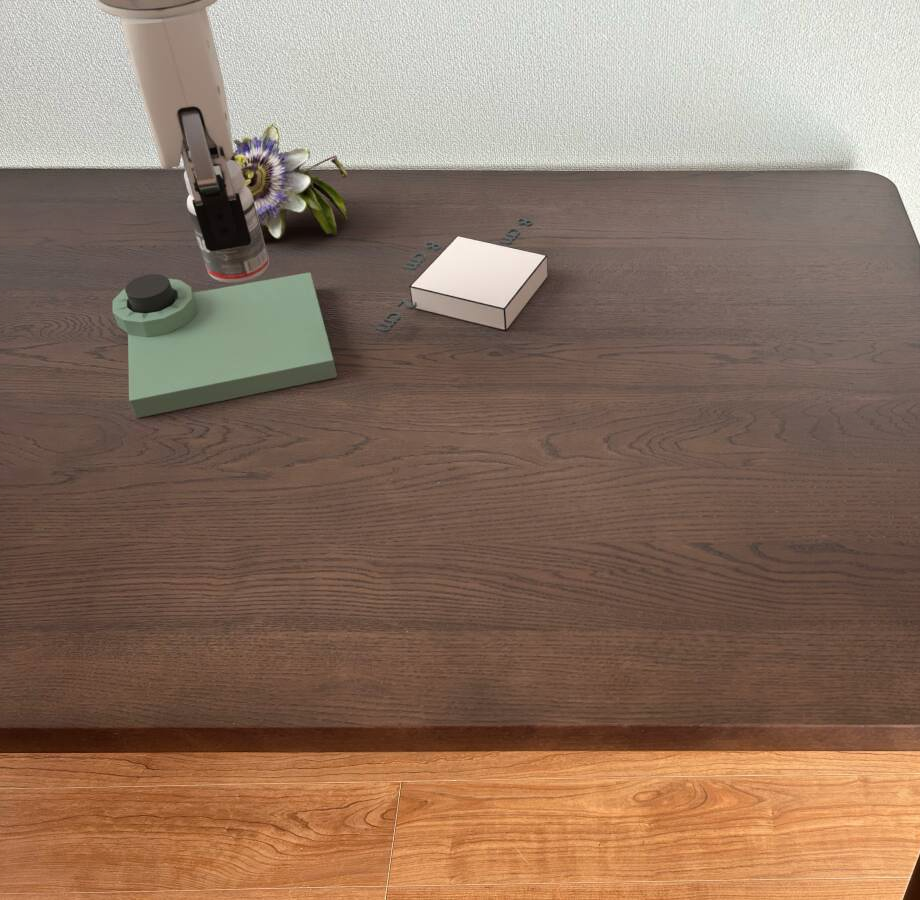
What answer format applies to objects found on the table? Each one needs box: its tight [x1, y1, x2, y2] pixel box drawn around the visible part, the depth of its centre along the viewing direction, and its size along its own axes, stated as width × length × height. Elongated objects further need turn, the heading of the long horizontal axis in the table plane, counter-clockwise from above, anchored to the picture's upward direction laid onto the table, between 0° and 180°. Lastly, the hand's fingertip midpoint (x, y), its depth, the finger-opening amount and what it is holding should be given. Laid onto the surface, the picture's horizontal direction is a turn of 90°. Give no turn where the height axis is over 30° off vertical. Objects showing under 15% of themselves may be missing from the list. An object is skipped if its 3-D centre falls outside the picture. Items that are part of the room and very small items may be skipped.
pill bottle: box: [183, 160, 270, 284], centre depth 74 cm, size 5×5×8 cm
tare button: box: [124, 273, 175, 314], centre depth 83 cm, size 4×4×2 cm
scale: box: [112, 271, 338, 419], centre depth 83 cm, size 17×15×4 cm
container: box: [374, 217, 549, 333], centre depth 91 cm, size 20×12×3 cm, turn 159°
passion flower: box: [231, 123, 348, 240], centre depth 97 cm, size 11×11×12 cm
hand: (226, 225), depth 74 cm, fingers closed on pill bottle, 4 cm apart
